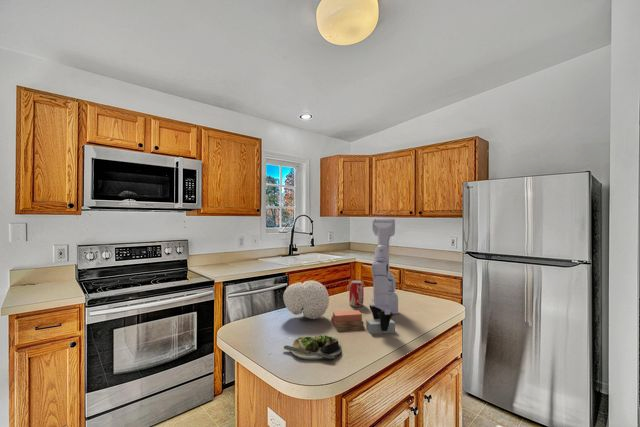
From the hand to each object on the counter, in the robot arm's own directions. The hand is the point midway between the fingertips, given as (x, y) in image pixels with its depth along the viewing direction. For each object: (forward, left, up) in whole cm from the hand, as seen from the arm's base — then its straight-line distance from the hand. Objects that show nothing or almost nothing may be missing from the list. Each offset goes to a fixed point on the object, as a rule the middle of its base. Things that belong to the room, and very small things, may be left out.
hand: (380, 326), depth 119 cm
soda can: (0, -33, -2) cm, 33 cm away
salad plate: (+27, +12, -2) cm, 30 cm away
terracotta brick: (+11, -8, 0) cm, 14 cm away
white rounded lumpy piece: (+27, -18, -2) cm, 32 cm away
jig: (+11, -8, -1) cm, 14 cm away
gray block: (0, 0, -2) cm, 2 cm away
